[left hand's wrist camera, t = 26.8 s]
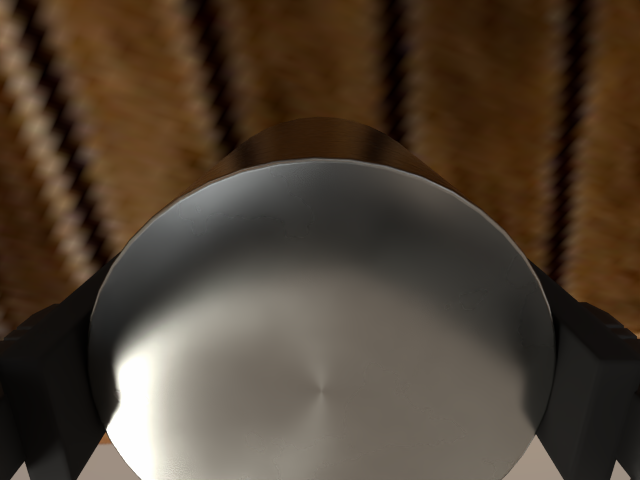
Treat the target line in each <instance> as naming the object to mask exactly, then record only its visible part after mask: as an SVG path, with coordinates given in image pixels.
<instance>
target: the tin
mask: <svg viewBox="0 0 640 480" xmlns="http://www.w3.org/2000/svg"><path fill="white" fill-rule="evenodd" d="M555 368H556V339H555V329H554V325H553V320H552V315H551V310H550V306H549V303H548V300H547V298H546V295H545V292H544V290H543V287H542V285H541V282H540V280H539V278H538V276H537V274H536V273H535V271H534V269H533V267H532V266H531V264H530V262H529V261H528V259H527V257H526V256H525V254H524V253H523V251H522V250H521V249H520V248H519V246H518V245H517V244H516V243H515V242H514V240H513V239H512V238H511V237H510V236H509V234H508V233H507V232H506V231H505V230H504V229H503V228H502V227H501V226H500V225H499V224H498V223H497V222H496V221H494V220H493V219H492V218H491V217H490V216H489V215H488V214H487V213H485V212H484V211H483V210H482V209H481V208H480V207H478V206H477V205H476V204H475V203H473V202H472V201H471V200H470V199H468V198H467V197H466V196H465V195H463V194H462V193H461V192H460V191H458V190H457V189H456V188H455V187H453V186H452V185H451V184H450V183H448V182H447V181H446V180H444V179H443V178H442V177H441V176H439V175H438V174H437V173H436V172H434V171H433V170H432V169H431V168H429V167H428V166H427V165H426V164H424V163H423V162H422V161H421V160H419V159H418V158H417V157H416V156H414V155H413V154H412V153H410V152H409V151H408V150H407V149H405V148H404V147H403V146H402V145H400V144H399V143H398V142H396V141H395V140H393V139H392V138H390V137H389V136H387V135H386V134H384V133H382V132H380V131H378V130H376V129H374V128H372V127H370V126H367V125H364V124H361V123H357V122H354V121H350V120H345V119H339V118H329V117H312V118H302V119H296V120H292V121H288V122H283V123H280V124H278V125H275V126H273V127H270V128H267V129H265V130H263V131H262V132H260V133H258V134H256V135H254V136H253V137H251V138H249V139H248V140H247V141H245V142H244V143H243V144H241V145H240V146H239V147H237V148H236V149H235V150H234V151H233V152H231V153H230V154H229V155H228V156H226V157H225V158H224V159H223V160H221V161H220V162H219V163H218V164H217V165H215V166H214V167H213V168H212V169H210V170H209V171H208V172H207V173H205V174H204V175H203V176H202V177H201V178H199V179H198V180H197V181H196V182H194V183H193V184H192V185H191V186H189V187H188V188H187V189H186V190H185V191H183V192H182V193H181V194H180V195H178V196H177V197H176V198H175V199H174V200H172V201H171V202H170V203H169V204H167V205H166V206H165V207H164V208H162V209H161V210H160V211H159V212H158V213H156V214H155V215H154V216H153V217H152V218H151V219H150V220H149V221H148V222H147V223H146V224H145V225H144V226H143V227H142V228H141V229H140V230H139V231H138V232H137V233H136V234H135V235H134V236H133V237H132V238H131V239H130V240H129V241H128V243H127V244H126V245H125V247H124V248H123V250H122V251H121V252H120V254H119V255H118V256H117V258H116V259H115V261H114V262H113V263H112V265H111V267H110V269H109V271H108V273H107V275H106V277H105V279H104V281H103V283H102V285H101V287H100V289H99V292H98V295H97V298H96V301H95V304H94V307H93V311H92V314H91V318H90V325H89V332H88V339H87V372H88V378H89V384H90V390H91V395H92V398H93V401H94V404H95V407H96V410H97V413H98V416H99V419H100V421H101V423H102V425H103V427H104V429H105V431H106V433H107V435H108V437H109V439H110V441H111V443H112V444H113V445H114V447H115V448H116V450H117V451H118V453H119V454H120V456H121V457H122V459H123V460H124V461H125V463H126V464H127V465H128V466H129V467H130V468H131V469H132V471H133V472H134V473H135V474H136V475H137V476H138V477H139V478H140V479H141V480H502V479H503V478H504V477H505V476H506V475H507V474H508V473H509V471H510V470H511V469H512V468H513V466H514V465H515V464H516V463H517V462H518V460H519V459H520V458H521V457H522V455H523V454H524V453H525V451H526V449H527V448H528V446H529V445H530V443H531V441H532V440H533V438H534V436H535V435H536V433H537V431H538V429H539V427H540V424H541V422H542V420H543V417H544V415H545V413H546V411H547V407H548V404H549V400H550V396H551V392H552V388H553V384H554V377H555Z"/></svg>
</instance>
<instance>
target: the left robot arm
mask: <svg viewBox="0 0 640 480" xmlns="http://www.w3.org/2000/svg"><path fill="white" fill-rule="evenodd" d="M119 254H120V253H118V254H117V255H116V256H115V257H114V258H113V259H111V260H110V261H109V262H108V263H107V264H106V265H104V266H103V267H102V268H101V269H100V270H99V271H97V272H96V273H95V274H94V275H93V276H92V277H90V278H89V279H88V280H87V281H86V282H85V283H83V284H82V285H81V286H80V287H79V288H78V289H76V290H75V291H74V292H73V293H72V294H71V295H69V296H68V297H67V298H66V299H65V300H64V301H62V302H61V303H60V304H53V305H51V306H49V307H47V308H45V309H43V310H41V311H39V312H37V313H35V314H33V315H32V316H30V317H29V318H28V319H27V320H25V321H24V322H23V323H22V324H21V325H19V326H18V327H17V330H13V331H12V332H11V333H9V334H8V335H7V336H6V337H5V338H4V341H0V480H10V479H11V478H12V477H13V475H14V474H15V473H16V471H17V470H18V469H19V468H20V466H21V465H22V464H23V462H24V461H25V464H26V467H27V470H28V473H29V477H30V480H77V478H78V476H79V475H80V473H81V471H82V470H83V468H84V466H85V465H86V463H87V462H88V460H89V458H90V457H91V455H92V453H93V452H94V450H95V448H96V447H97V445H98V444H99V442H100V440H101V439H102V437H103V435H104V434H105V432H106V431H105V429H104V427H103V425H102V423H101V421H100V419H99V416H98V413H97V410H96V407H95V404H94V401H93V398H92V395H91V390H90V384H89V378H88V372H87V339H88V332H89V325H90V318H91V314H92V311H93V307H94V304H95V301H96V298H97V295H98V292H99V289H100V287H101V285H102V283H103V281H104V279H105V277H106V275H107V273H108V271H109V269H110V267H111V265H112V263H113V262H114V261H115V259H116V258H117V256H118V255H119ZM527 259H528V258H527ZM528 261H529V262H530V264H531V266H532V267H533V269H534V271H535V273H536V274H537V276H538V278H539V280H540V282H541V285H542V287H543V290H544V292H545V295H546V298H547V300H548V303H549V306H550V310H551V315H552V320H553V325H554V329H555V339H556V368H555V377H554V384H553V388H552V392H551V396H550V400H549V404H548V407H547V411H546V413H545V415H544V417H543V420H542V422H541V424H540V427H539V429H538V431H537V433H536V435H537V436H538V438H539V440H540V441H541V443H542V445H543V446H544V448H545V450H546V451H547V453H548V455H549V456H550V458H551V459H552V461H553V463H554V464H555V466H556V468H557V469H558V471H559V472H560V474H561V476H562V477H563V479H564V480H610V478H611V475H612V472H613V468H614V465H615V462H616V460H617V461H618V462H619V463H620V465H621V466H622V467H623V469H624V470H625V471H626V472H627V474H628V475H629V476H630V478H631V479H630V480H640V339H637V336H636V335H635V334H633V333H632V332H631V331H630V330H628V329H627V328H624V326H623V325H622V324H621V323H620V322H619V321H617V320H616V319H615V318H614V317H612V316H611V315H610V314H609V313H607V312H605V311H603V310H601V309H599V308H597V307H595V306H593V305H591V304H589V303H587V302H578V301H577V300H575V299H574V298H573V297H572V296H571V295H570V294H568V293H567V292H566V291H565V290H564V289H563V288H561V287H560V286H559V285H558V284H557V283H556V282H554V281H553V280H552V279H551V278H550V277H549V276H547V275H546V274H545V273H544V272H543V271H542V270H540V269H539V268H538V267H537V266H536V265H535V264H533V263H532V262H531V261H530V260H529V259H528Z"/></svg>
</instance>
